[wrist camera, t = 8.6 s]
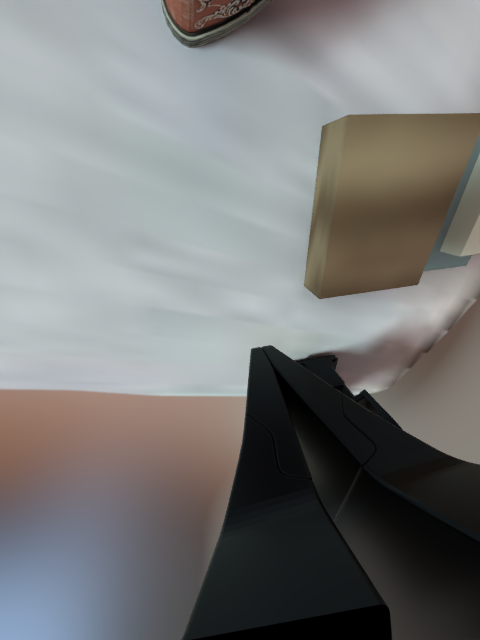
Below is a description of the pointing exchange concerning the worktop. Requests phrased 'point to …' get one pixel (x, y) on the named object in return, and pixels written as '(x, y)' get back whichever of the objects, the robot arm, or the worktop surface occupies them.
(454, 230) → the rectangular block
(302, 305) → the worktop surface
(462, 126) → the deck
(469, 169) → the mat
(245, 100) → the worktop surface
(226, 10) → the lighter
